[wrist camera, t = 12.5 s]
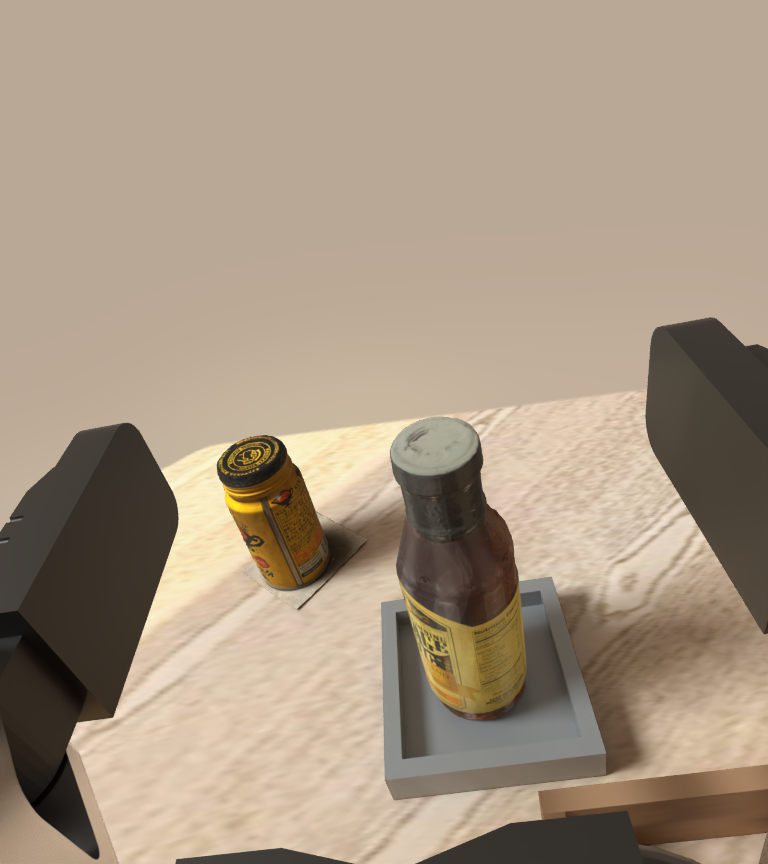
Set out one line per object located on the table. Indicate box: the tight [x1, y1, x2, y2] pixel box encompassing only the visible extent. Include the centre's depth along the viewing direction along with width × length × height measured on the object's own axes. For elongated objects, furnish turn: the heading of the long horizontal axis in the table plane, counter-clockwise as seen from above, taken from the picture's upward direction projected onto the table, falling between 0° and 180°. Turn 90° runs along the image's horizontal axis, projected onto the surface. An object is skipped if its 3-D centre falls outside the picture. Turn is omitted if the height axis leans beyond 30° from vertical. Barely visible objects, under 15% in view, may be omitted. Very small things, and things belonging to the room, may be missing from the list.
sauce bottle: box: [390, 417, 527, 720], centre depth 33 cm, size 6×6×20 cm
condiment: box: [217, 435, 368, 610], centre depth 49 cm, size 7×8×12 cm
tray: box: [381, 577, 606, 800], centre depth 39 cm, size 12×12×2 cm
